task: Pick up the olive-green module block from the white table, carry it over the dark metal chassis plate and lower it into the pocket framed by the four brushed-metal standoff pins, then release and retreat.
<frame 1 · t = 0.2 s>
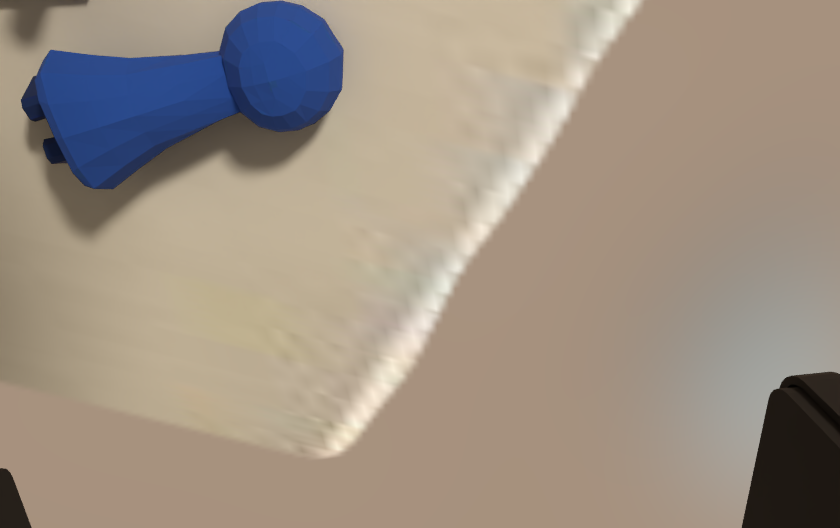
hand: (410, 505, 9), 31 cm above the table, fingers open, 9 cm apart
toy: (200, 81, 37), on the table
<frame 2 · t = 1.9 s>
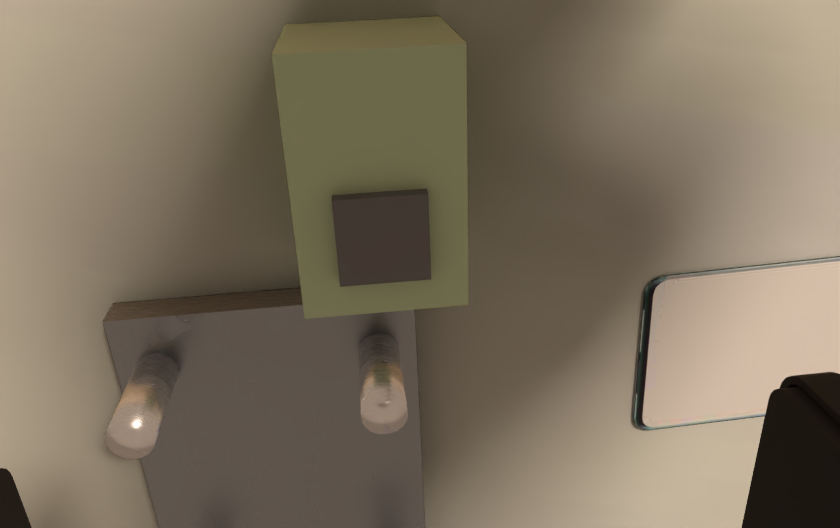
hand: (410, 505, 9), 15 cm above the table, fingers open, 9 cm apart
chassis: (288, 451, 27), on the table
smartphone: (817, 328, 28), on the table
module: (371, 136, 22), on the table
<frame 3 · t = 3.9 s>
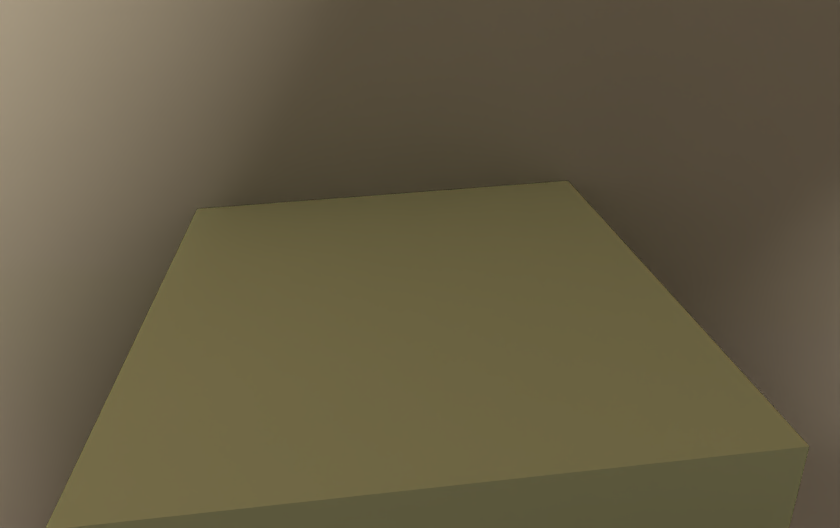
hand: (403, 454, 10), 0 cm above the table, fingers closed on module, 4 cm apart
module: (401, 425, 10), on the table, touching gripper
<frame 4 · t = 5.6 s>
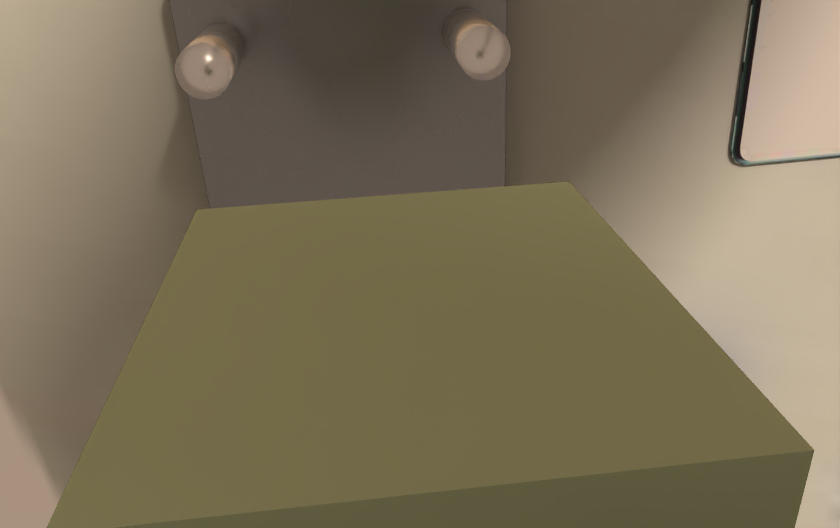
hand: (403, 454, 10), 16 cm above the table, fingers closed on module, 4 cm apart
chassis: (358, 178, 25), on the table
module: (401, 427, 10), point 16 cm above the table, touching gripper
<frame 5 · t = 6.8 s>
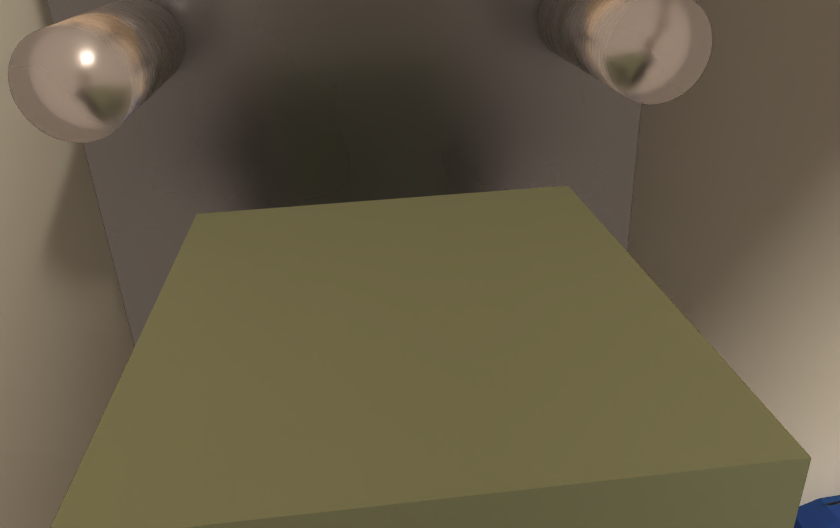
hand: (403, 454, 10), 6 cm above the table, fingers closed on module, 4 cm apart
chassis: (379, 262, 15), on the table
module: (401, 430, 10), point 6 cm above the table, touching gripper
when the fingers open (2 cm above the table, at t = 7.8 s): module stays where it is, resting on chassis.
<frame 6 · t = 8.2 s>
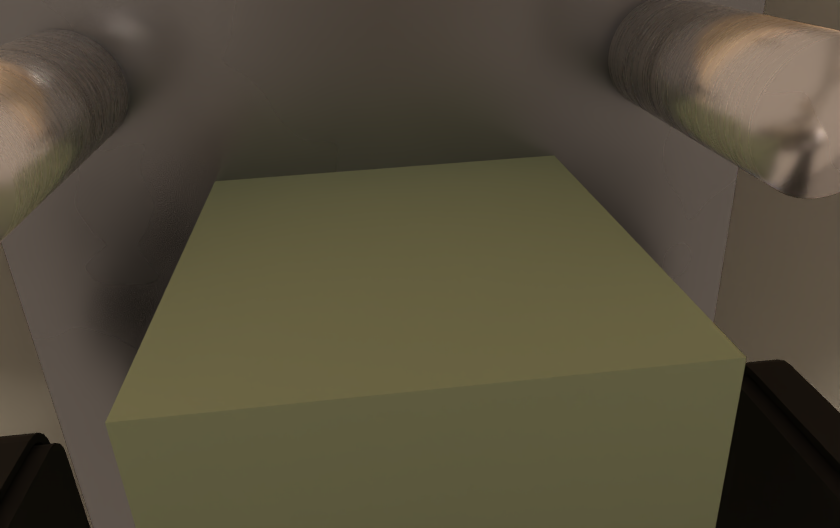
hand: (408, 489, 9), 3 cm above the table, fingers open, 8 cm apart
chassis: (390, 354, 12), on the table
module: (402, 386, 11), point 1 cm above the table, touching chassis
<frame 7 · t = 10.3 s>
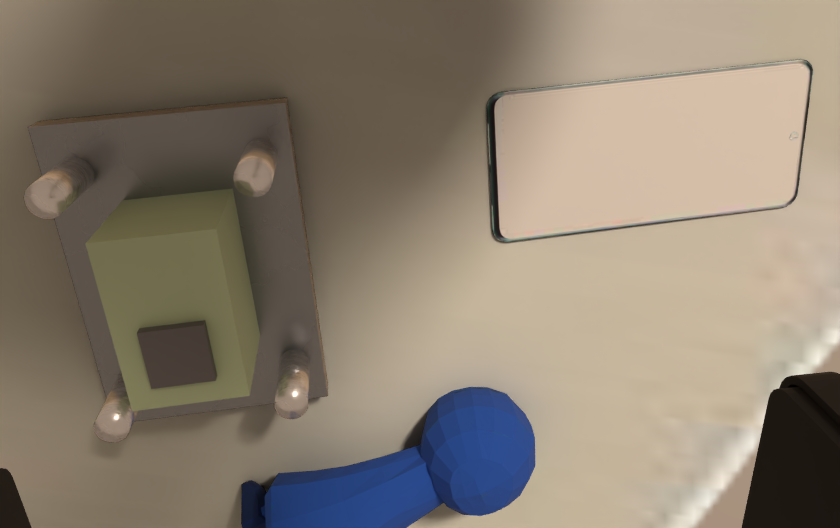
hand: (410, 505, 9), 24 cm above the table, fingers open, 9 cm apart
chassis: (197, 264, 32), on the table
toy: (390, 456, 38), on the table
smartphone: (644, 149, 33), on the table
module: (194, 271, 31), point 1 cm above the table, touching chassis
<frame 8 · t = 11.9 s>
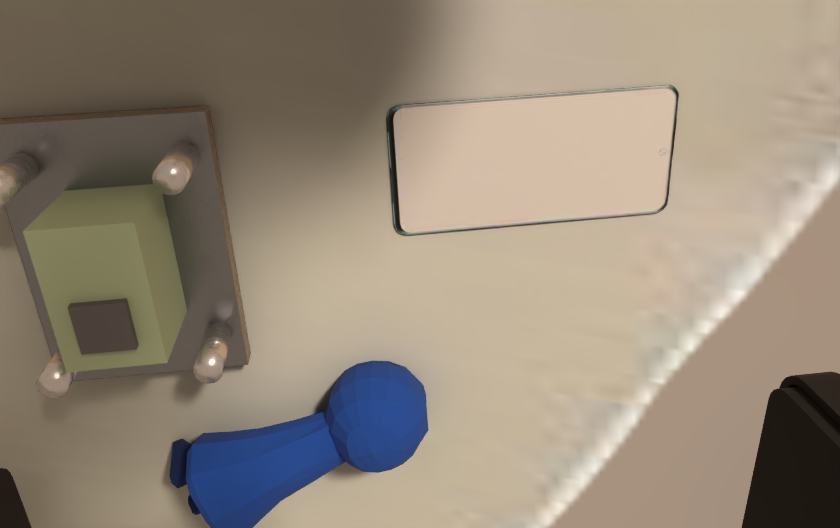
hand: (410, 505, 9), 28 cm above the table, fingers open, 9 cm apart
chassis: (132, 247, 37), on the table
toy: (306, 420, 43), on the table
smartphone: (530, 158, 38), on the table
module: (128, 253, 36), point 1 cm above the table, touching chassis
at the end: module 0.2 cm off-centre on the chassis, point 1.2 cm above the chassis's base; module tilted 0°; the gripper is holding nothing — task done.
